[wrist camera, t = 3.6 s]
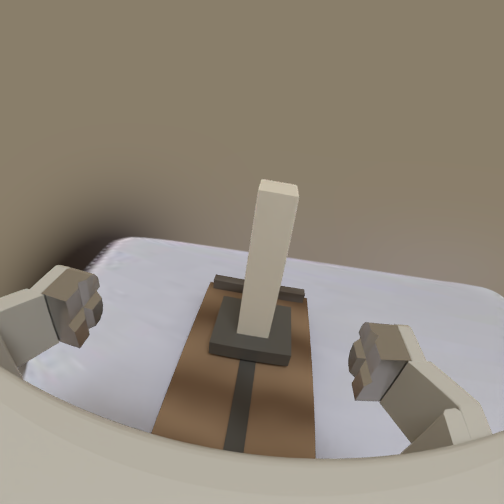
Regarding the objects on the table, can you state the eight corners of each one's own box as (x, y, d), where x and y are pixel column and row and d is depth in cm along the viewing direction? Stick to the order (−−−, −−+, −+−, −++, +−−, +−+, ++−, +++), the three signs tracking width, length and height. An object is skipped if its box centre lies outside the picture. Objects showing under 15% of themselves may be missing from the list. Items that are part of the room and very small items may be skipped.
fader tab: (287, 366, 21) (332, 210, 15) (208, 353, 21) (222, 191, 16) (288, 317, 26) (320, 185, 21) (222, 306, 26) (238, 170, 21)
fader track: (298, 603, 6) (316, 608, 4) (114, 573, 6) (98, 573, 5) (302, 313, 31) (309, 290, 29) (209, 297, 31) (211, 273, 30)
